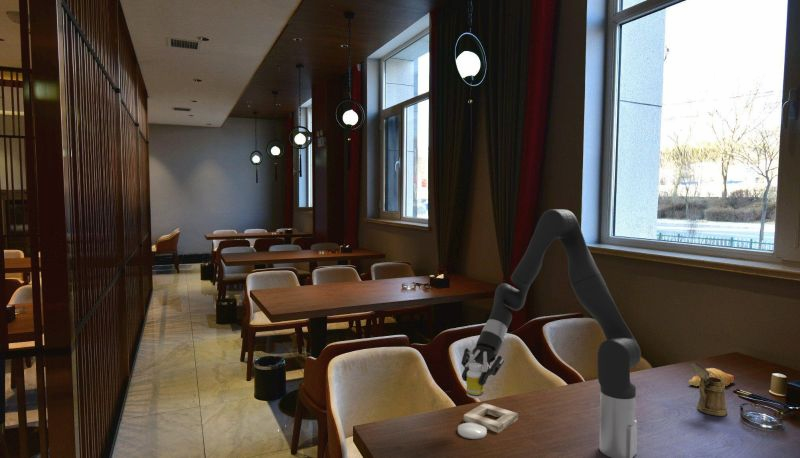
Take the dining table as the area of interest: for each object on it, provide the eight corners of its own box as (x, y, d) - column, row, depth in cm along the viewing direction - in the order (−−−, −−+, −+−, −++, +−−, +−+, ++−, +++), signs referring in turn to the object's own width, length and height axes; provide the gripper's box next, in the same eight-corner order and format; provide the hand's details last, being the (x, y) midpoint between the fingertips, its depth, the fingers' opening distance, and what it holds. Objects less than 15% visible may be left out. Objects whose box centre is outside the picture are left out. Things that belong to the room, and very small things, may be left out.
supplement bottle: (483, 399, 149) (483, 367, 148) (465, 397, 150) (465, 366, 149) (484, 392, 154) (484, 362, 154) (467, 391, 155) (467, 361, 155)
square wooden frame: (518, 419, 160) (518, 413, 160) (498, 432, 150) (498, 426, 150) (484, 408, 169) (484, 403, 169) (463, 420, 159) (463, 414, 159)
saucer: (492, 431, 151) (492, 428, 151) (476, 441, 145) (476, 438, 145) (467, 423, 157) (467, 420, 157) (452, 432, 150) (452, 429, 150)
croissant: (695, 398, 188) (703, 383, 184) (677, 378, 197) (684, 364, 193) (738, 392, 193) (747, 378, 189) (719, 373, 202) (727, 359, 198)
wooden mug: (681, 409, 169) (682, 358, 168) (708, 404, 173) (710, 355, 173) (705, 420, 160) (706, 366, 160) (733, 414, 165) (735, 362, 164)
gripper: (469, 326, 161) (448, 370, 153) (507, 334, 152) (487, 381, 143) (478, 339, 166) (457, 382, 157) (515, 347, 156) (496, 394, 148)
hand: (472, 382), depth 150 cm, fingers closed on supplement bottle, 5 cm apart
